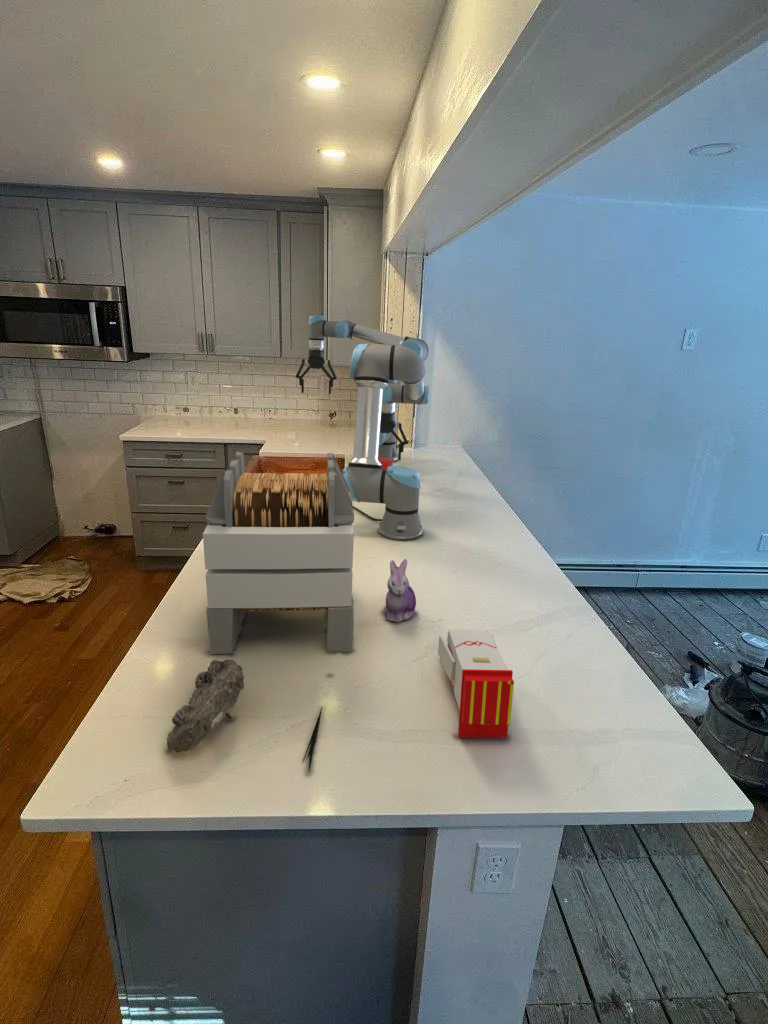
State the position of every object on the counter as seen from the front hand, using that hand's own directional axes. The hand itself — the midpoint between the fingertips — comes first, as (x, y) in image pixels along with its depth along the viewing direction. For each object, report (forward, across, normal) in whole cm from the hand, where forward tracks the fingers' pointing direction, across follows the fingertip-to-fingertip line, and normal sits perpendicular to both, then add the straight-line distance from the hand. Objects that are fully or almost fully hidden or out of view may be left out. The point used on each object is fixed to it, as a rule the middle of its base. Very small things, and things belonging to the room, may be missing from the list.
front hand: (384, 459), depth 254 cm
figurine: (+9, +8, +117) cm, 118 cm away
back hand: (-21, +30, -44) cm, 58 cm away
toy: (+9, -3, +149) cm, 149 cm away
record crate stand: (+9, +37, +117) cm, 123 cm away
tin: (+11, 0, 0) cm, 11 cm away
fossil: (+8, +49, +154) cm, 162 cm away
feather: (+8, +29, +156) cm, 159 cm away
